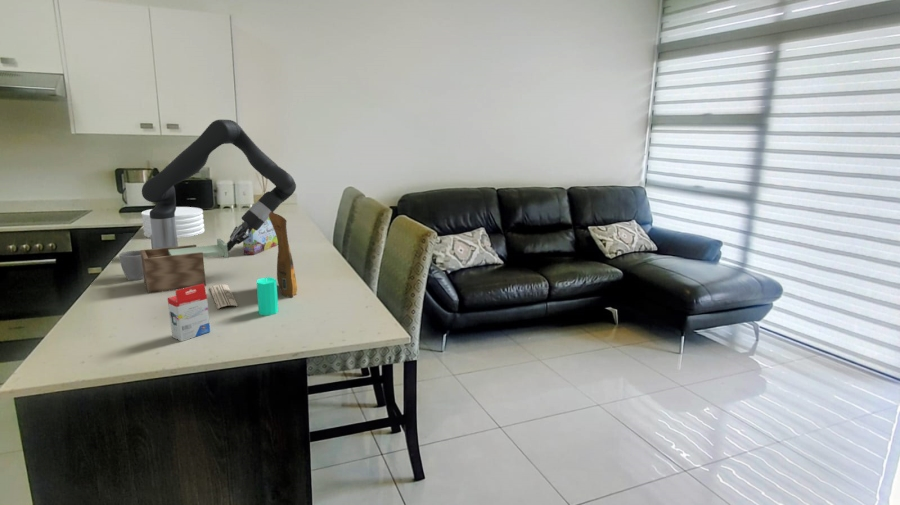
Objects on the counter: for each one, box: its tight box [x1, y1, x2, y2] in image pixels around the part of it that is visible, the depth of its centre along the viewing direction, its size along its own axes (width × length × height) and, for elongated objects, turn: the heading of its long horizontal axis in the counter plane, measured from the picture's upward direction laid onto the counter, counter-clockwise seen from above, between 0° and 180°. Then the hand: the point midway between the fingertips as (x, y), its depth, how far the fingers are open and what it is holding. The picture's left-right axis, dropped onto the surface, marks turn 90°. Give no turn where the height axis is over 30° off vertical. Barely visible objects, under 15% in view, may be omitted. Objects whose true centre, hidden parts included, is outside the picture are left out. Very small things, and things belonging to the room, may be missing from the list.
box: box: [140, 244, 207, 294], centre depth 180 cm, size 18×14×12 cm
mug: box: [118, 249, 144, 281], centre depth 187 cm, size 12×9×10 cm
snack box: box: [241, 218, 278, 256], centre depth 232 cm, size 21×6×15 cm, turn 168°
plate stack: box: [141, 206, 205, 239], centre depth 260 cm, size 28×28×12 cm
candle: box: [256, 275, 279, 316], centre depth 157 cm, size 6×6×12 cm
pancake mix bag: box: [269, 211, 298, 298], centre depth 175 cm, size 7×19×28 cm, turn 27°
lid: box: [168, 237, 229, 259], centre depth 184 cm, size 18×12×5 cm, turn 126°
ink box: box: [167, 284, 211, 342], centre depth 138 cm, size 8×5×15 cm, turn 145°
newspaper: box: [209, 284, 239, 310], centre depth 170 cm, size 24×7×2 cm, turn 31°
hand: (225, 249), depth 189 cm, fingers closed
